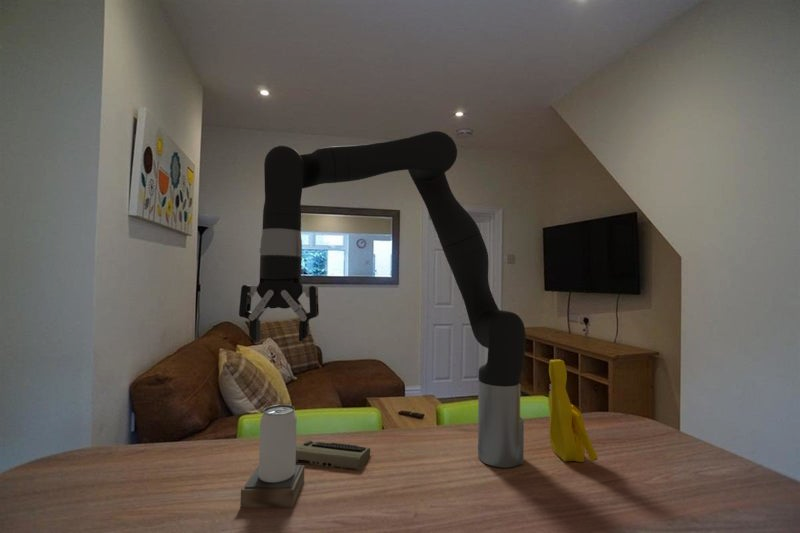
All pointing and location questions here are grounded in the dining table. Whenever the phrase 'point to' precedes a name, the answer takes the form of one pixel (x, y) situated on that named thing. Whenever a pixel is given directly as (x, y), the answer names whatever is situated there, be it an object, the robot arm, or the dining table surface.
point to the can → (277, 444)
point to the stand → (272, 491)
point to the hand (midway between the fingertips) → (278, 340)
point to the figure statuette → (566, 419)
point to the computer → (332, 454)
